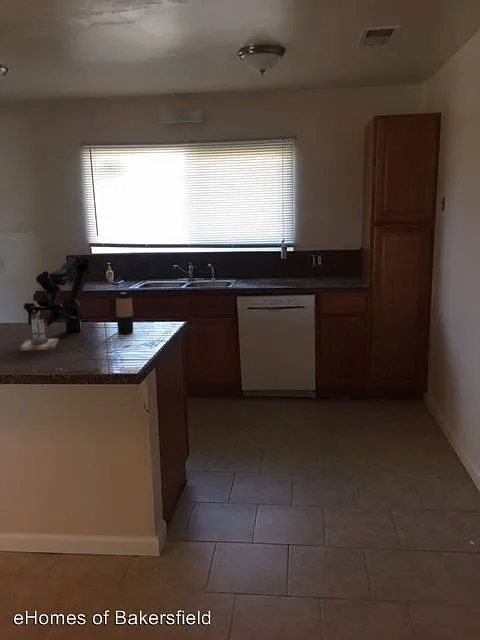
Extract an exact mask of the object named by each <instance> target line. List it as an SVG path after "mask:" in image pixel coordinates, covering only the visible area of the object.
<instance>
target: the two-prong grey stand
mask: <svg viewBox="0 0 480 640" xmlns="http://www.w3.org/2000/svg"><path fill="white" fill-rule="evenodd" d="M31 320H32V324H31V329H32V332H31V335H32V339H30V340H31V344H35V345H43V344H45V343H47V342H48V339H49V338H48V337H46V334H47V333H46V331H45V330H46V328H45V321H44V313H39V314H38V313H37V314H32V315H31Z"/></svg>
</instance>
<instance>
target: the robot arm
mask: <svg viewBox="0 0 480 640" xmlns="http://www.w3.org/2000/svg"><path fill="white" fill-rule="evenodd" d="M94 266H95V262H94V261H93V260H92V258H86V257H83V256H82V255H81V256H80V255H71V256H70V257H69V259H68V260H67V261H66V262H65V263H64V264H63V265H62V267H60V268H59V269H56V270H54V271H53V272H51V273H49V271H47V270H44V271H42V273H39V275H37V276H36V278H35V281H36V282H37V284H38V285H39V286H40V288H41V289H43V290H44V291H45V292H44V293H39V292H36V293H35V292H34V293H33V297H32V301H35V302H36V304H37V305H36V304H35V303H34V302H25V303H24V305H23V307H22V308H23V309H24V310H25V311H26V312H27V315H28V317H27V320H28V321H27V323H28V326H32V320H31V315H32V314H37V315H38V313H39V312H50V315H49V317H48V320H47V322H46V326H47V327H49V326H51V325H52V324H53V323H54V322H56V321H58V320H59V319H60V318H62V319H63V320H66V321H65V331H66V332H67V333H79V332H82V330H83V329H82V322H81V321H82V320H83V319H84V317H85V313H84V312H83V310H82V309H81V308H82V307H81V304H80V300H81V296H82V293H83V291H84V290H83V289H84V287H85V282H86V279H87V277H88V276H89V275H90V274H91V273H92V271H93V269H94ZM74 270H75V272H76V275H75V278H74V280H73V284H72V288H71V290H70V295H69V297H68V299H63V301H62V303H61V304H60V303H58V301H57V299H58V296H59V294H60V295H61V294H63V290H62V287H60V286H65V285H66V284H67V282H68V281H69V276H70V275H71V274H72V273H73V271H74Z"/></svg>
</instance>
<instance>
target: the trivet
mask: <svg viewBox="0 0 480 640" xmlns="http://www.w3.org/2000/svg"><path fill="white" fill-rule="evenodd" d="M31 340H32V339H26V340H24V342H23V343H22V345H21V346H20V347H19V352H23V351H25V352H26V351H43V350H55V349H56V346H57V344H58V343H59V338H48V342H47V343H45V344H43V345H35V344H31Z"/></svg>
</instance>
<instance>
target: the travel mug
mask: <svg viewBox="0 0 480 640" xmlns="http://www.w3.org/2000/svg"><path fill="white" fill-rule="evenodd" d="M132 298H133V297H132V292H131V291H130V290H124V291H123V290H121V291H116V292H115V307H116V311H115V312H116V313H115V314H116V323H117V325H116V326H117V333H118V335H125V336H127V335H132V334H134V314H133V313H134V312H133V299H132Z"/></svg>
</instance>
